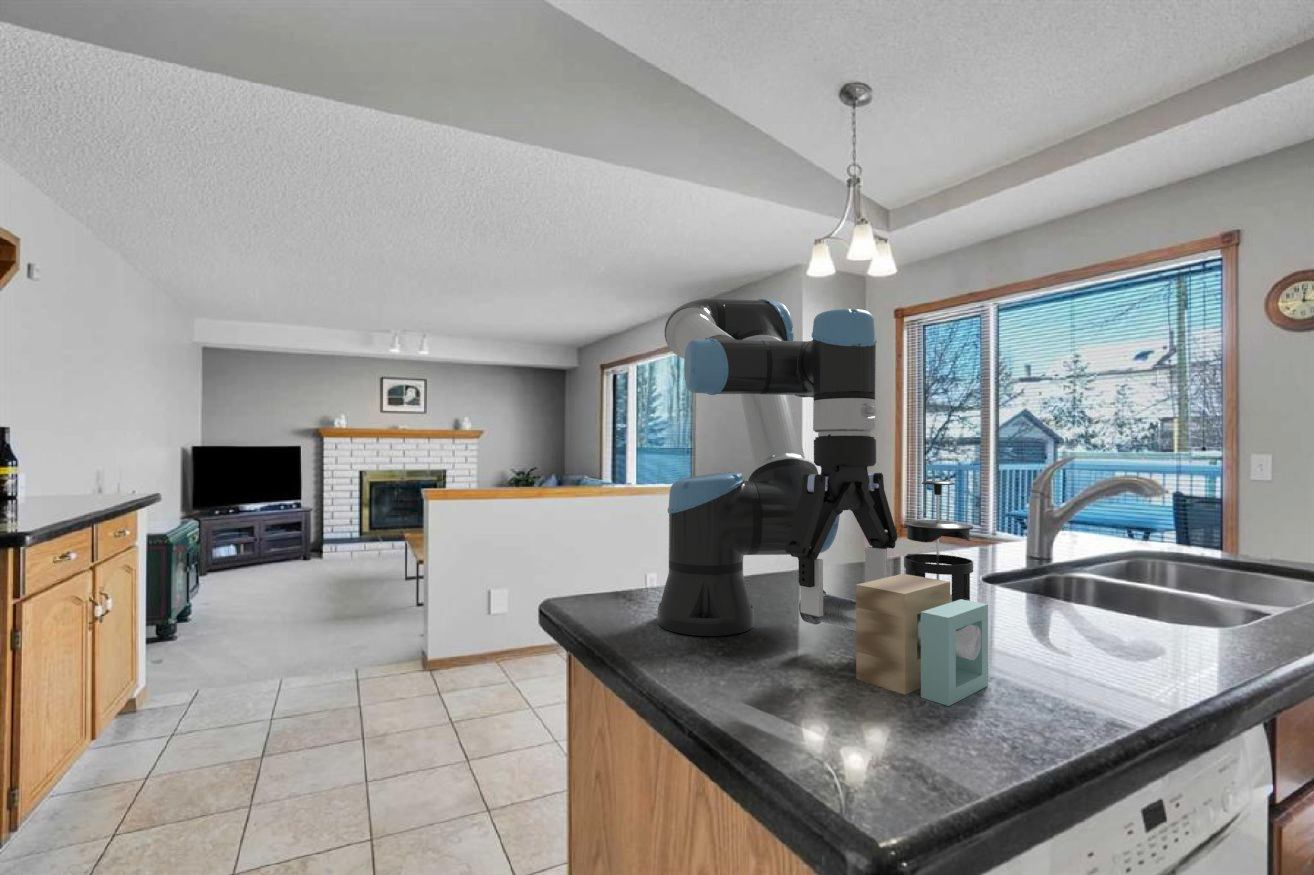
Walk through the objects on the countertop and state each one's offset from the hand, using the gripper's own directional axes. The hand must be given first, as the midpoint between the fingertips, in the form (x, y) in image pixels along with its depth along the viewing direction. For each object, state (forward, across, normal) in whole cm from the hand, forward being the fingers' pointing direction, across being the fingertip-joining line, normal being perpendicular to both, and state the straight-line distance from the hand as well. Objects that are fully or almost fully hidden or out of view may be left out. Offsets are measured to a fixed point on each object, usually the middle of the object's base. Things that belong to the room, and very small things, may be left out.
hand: (845, 605), depth 81 cm
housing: (+8, 0, -8) cm, 11 cm away
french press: (+8, +19, -2) cm, 21 cm away
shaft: (+3, 0, -5) cm, 6 cm away
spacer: (+7, 0, -14) cm, 15 cm away
